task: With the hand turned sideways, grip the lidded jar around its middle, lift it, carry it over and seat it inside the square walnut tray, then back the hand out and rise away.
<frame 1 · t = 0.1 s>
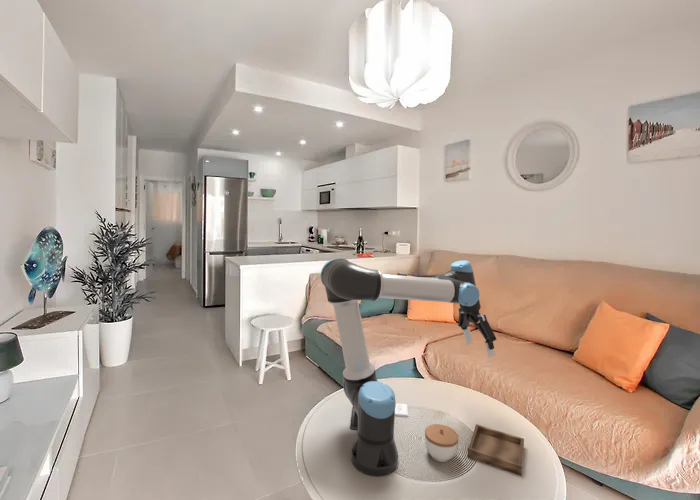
hand: (480, 349, 135), 28 cm above the table, tool tilted 20°, fingers open, 13 cm apart
phone: (361, 419, 133), on the table
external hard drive: (392, 411, 139), on the table
lidded jar: (440, 456, 113), on the table
walnut tray: (496, 451, 116), on the table
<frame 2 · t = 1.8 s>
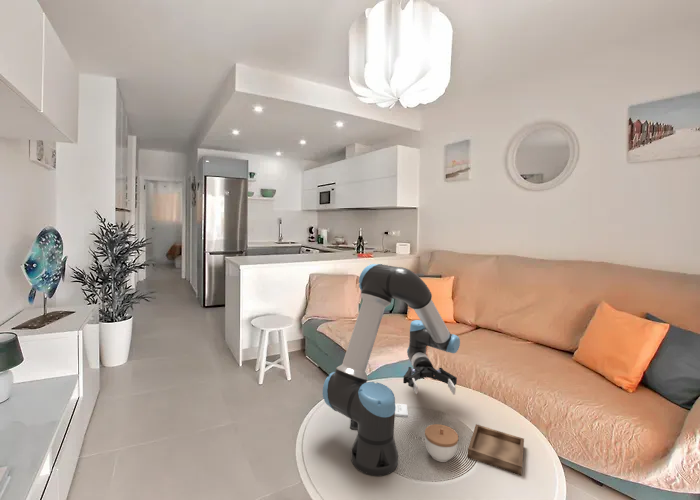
hand: (435, 390, 121), 17 cm above the table, tool horizontal, fingers open, 13 cm apart
nothing on the table moved.
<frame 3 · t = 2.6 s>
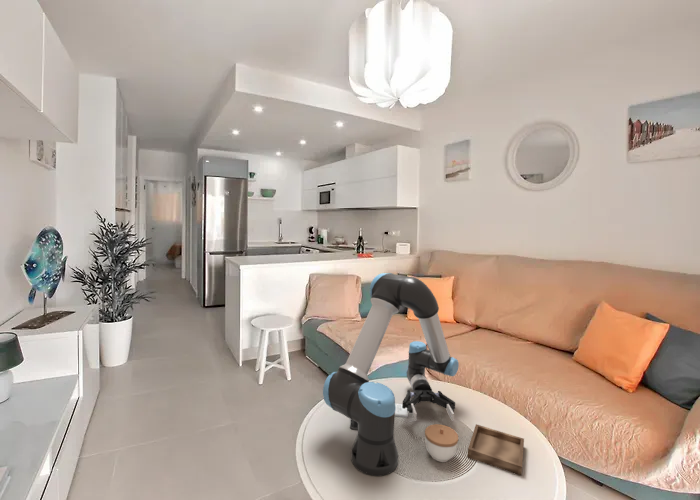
hand: (434, 417, 122), 7 cm above the table, tool horizontal, fingers open, 13 cm apart
nothing on the table moved.
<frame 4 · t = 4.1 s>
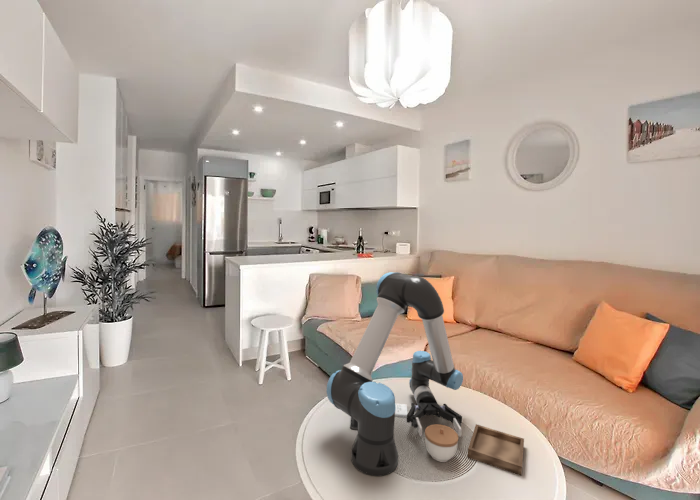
hand: (440, 432, 116), 6 cm above the table, tool horizontal, fingers open, 13 cm apart
nothing on the table moved.
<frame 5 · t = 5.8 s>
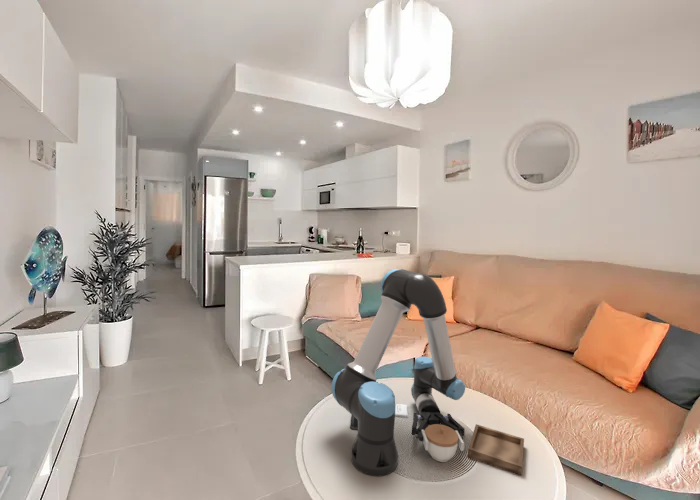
hand: (444, 446, 108), 6 cm above the table, tool horizontal, fingers closed on lidded jar, 11 cm apart
lidded jar: (440, 456, 113), on the table, touching gripper
everything else where it was.
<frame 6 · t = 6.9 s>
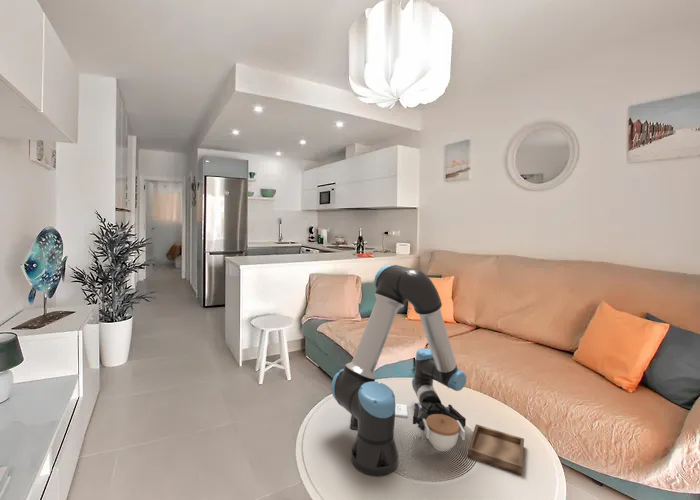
hand: (446, 435, 108), 10 cm above the table, tool horizontal, fingers closed on lidded jar, 11 cm apart
lidded jar: (441, 445, 113), point 3 cm above the table, touching gripper
everything else where it was.
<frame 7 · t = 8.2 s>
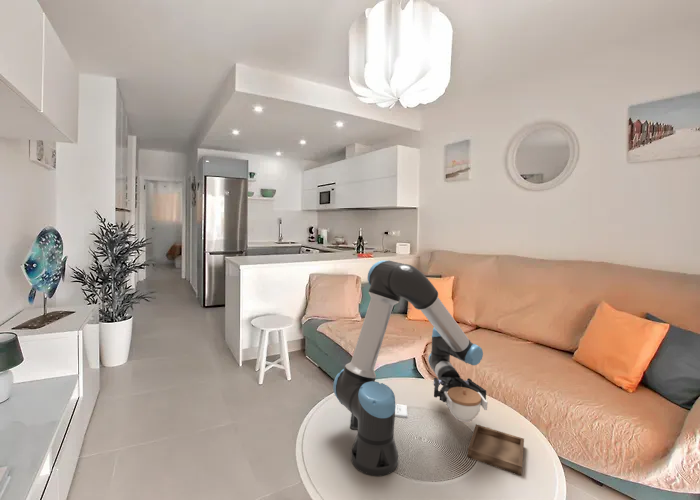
hand: (468, 406, 109), 19 cm above the table, tool horizontal, fingers closed on lidded jar, 11 cm apart
lidded jar: (462, 417, 114), point 12 cm above the table, touching gripper
everything else where it was.
when the fingers open (8 cm above the table, at t = 11.1 s): lidded jar drops 1 cm, resting on walnut tray.
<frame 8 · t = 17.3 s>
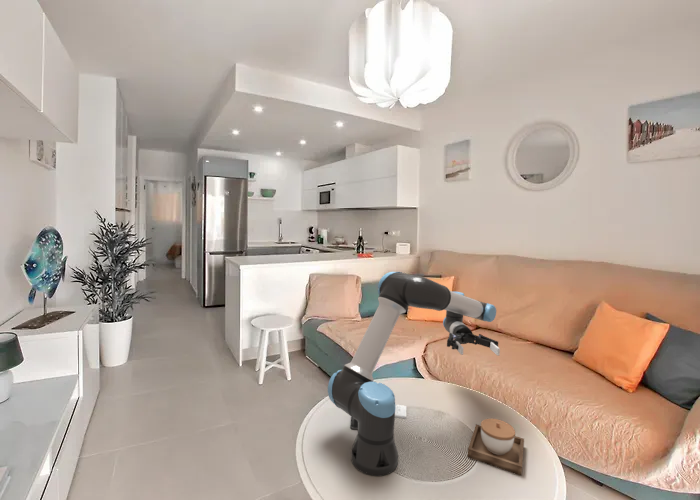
hand: (480, 351, 126), 30 cm above the table, tool horizontal, fingers open, 13 cm apart
lidded jar: (496, 449, 116), point 1 cm above the table, touching walnut tray
everything else where it was.
at the end: lidded jar 0.1 cm off-centre on the walnut tray, point 0.8 cm above the walnut tray's base; lidded jar tilted 0°; the gripper is holding nothing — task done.
